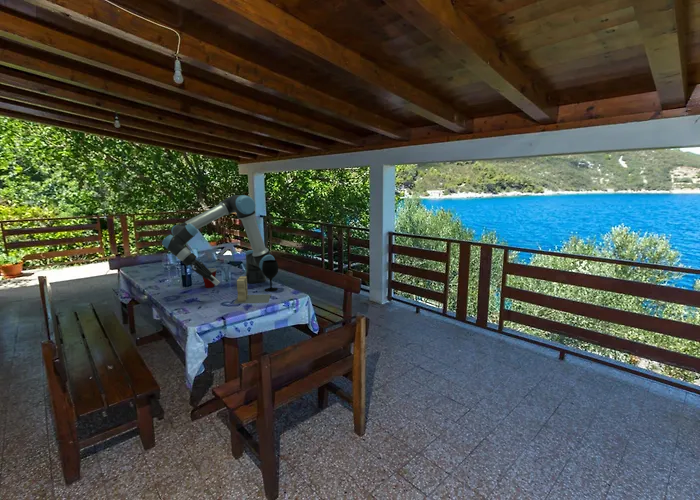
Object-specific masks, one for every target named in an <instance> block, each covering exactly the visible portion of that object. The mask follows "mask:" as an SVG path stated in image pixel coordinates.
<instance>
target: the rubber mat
mask: <svg viewBox="0 0 700 500" xmlns="http://www.w3.org/2000/svg"><path fill="white" fill-rule="evenodd" d="M271 296H272V293H269V294H268V293H265V294H248V297H247V299H246V301H245V302H238V296H237V298H236V299H235V301H234V303H233V304H236V305H238V304H262V303H263V304H265V303H267V304H268V303H269V302H270V300H271V299H270V298H271Z"/></svg>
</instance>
